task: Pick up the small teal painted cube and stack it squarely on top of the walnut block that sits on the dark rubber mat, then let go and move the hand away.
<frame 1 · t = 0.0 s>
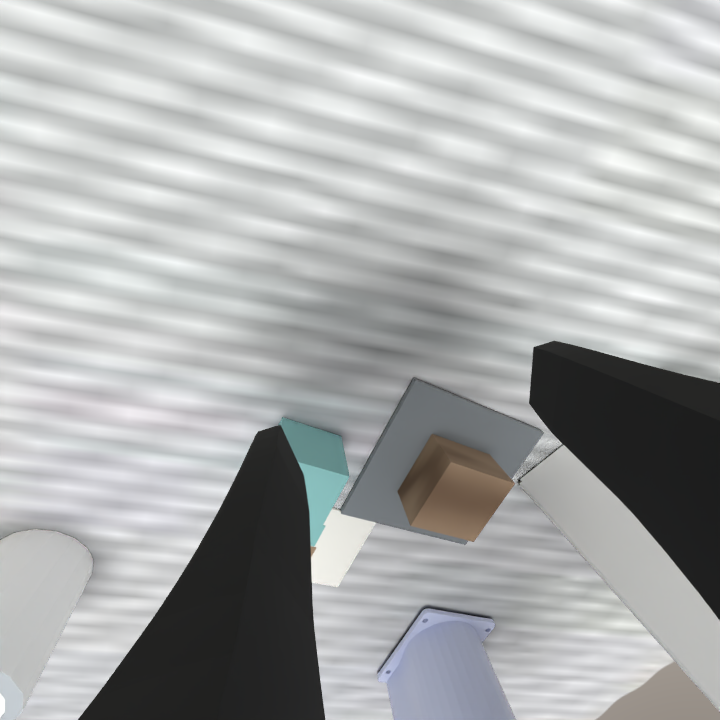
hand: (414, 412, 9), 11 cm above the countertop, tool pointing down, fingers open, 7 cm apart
gable box: (633, 497, 29), on the countertop
walnut block: (443, 472, 23), resting on build mat
white cylinder: (45, 560, 21), on the countertop
instruction card: (301, 541, 24), on the countertop
teal cube: (300, 451, 21), on the countertop
build mat: (441, 469, 24), on the countertop
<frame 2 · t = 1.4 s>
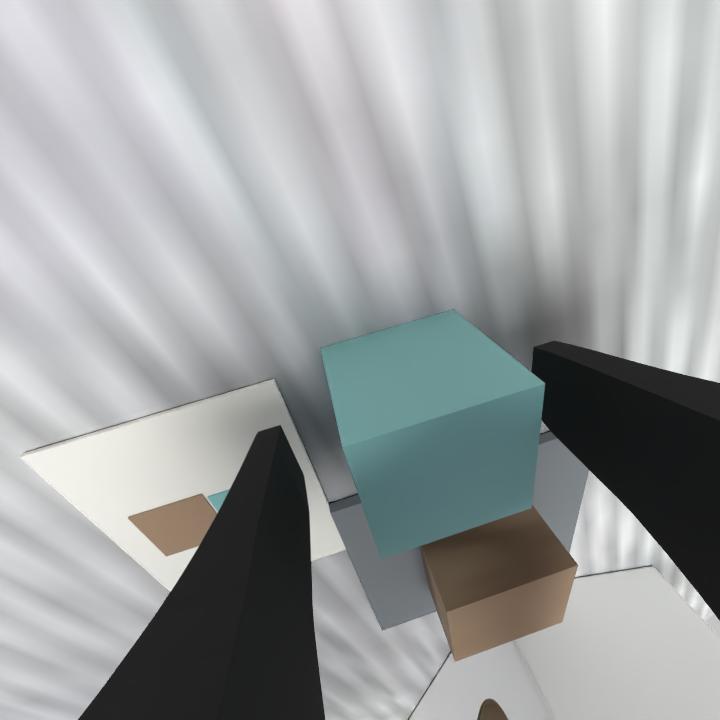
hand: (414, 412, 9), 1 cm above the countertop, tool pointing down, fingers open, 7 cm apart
gable box: (511, 650, 26), on the countertop
walnut block: (473, 544, 15), resting on build mat
instruction card: (221, 509, 12), on the countertop
teal cube: (397, 382, 11), on the countertop
build mat: (469, 536, 16), on the countertop
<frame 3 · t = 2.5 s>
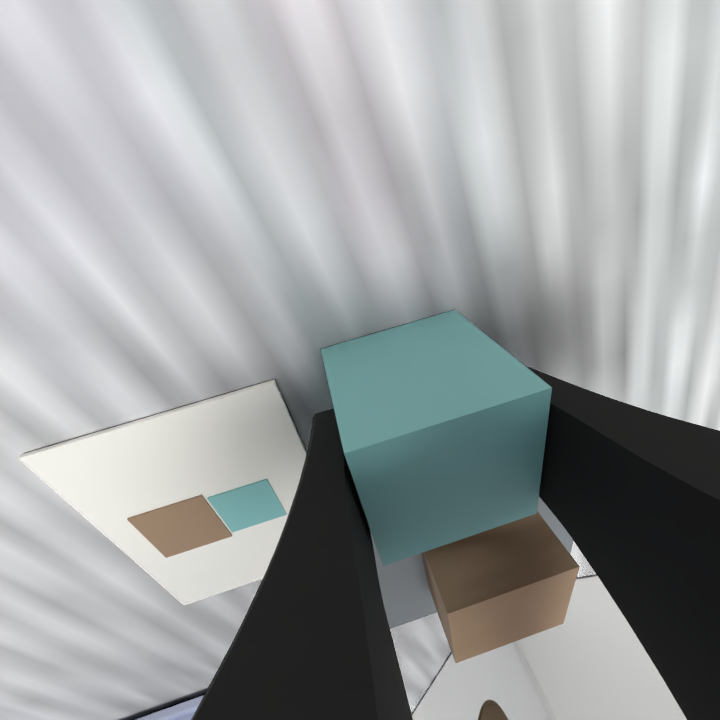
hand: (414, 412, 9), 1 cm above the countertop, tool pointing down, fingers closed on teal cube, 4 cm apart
gable box: (511, 651, 26), on the countertop
walnut block: (473, 545, 15), resting on build mat
instruction card: (221, 511, 11), on the countertop
teal cube: (399, 384, 10), on the countertop, touching gripper
build mat: (469, 537, 16), on the countertop
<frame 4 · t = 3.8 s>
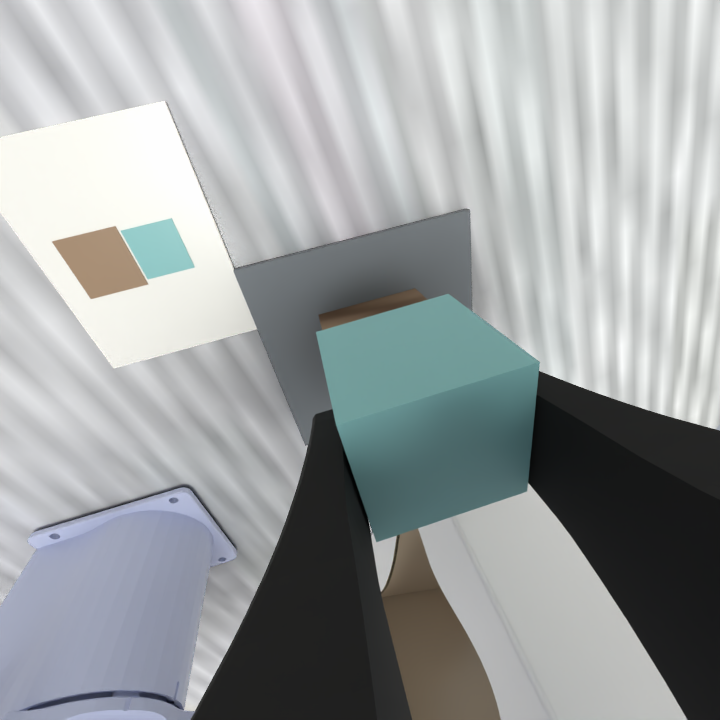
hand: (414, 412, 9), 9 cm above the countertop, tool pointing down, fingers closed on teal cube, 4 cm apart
gable box: (445, 519, 28), on the countertop
walnut block: (375, 344, 18), resting on build mat
instruction card: (136, 254, 14), on the countertop
teal cube: (393, 368, 11), point 7 cm above the countertop, touching gripper
build mat: (374, 341, 18), on the countertop
when the fingers open (6 cm above the countertop, at t = 5.3 s): teal cube stays where it is, resting on walnut block.
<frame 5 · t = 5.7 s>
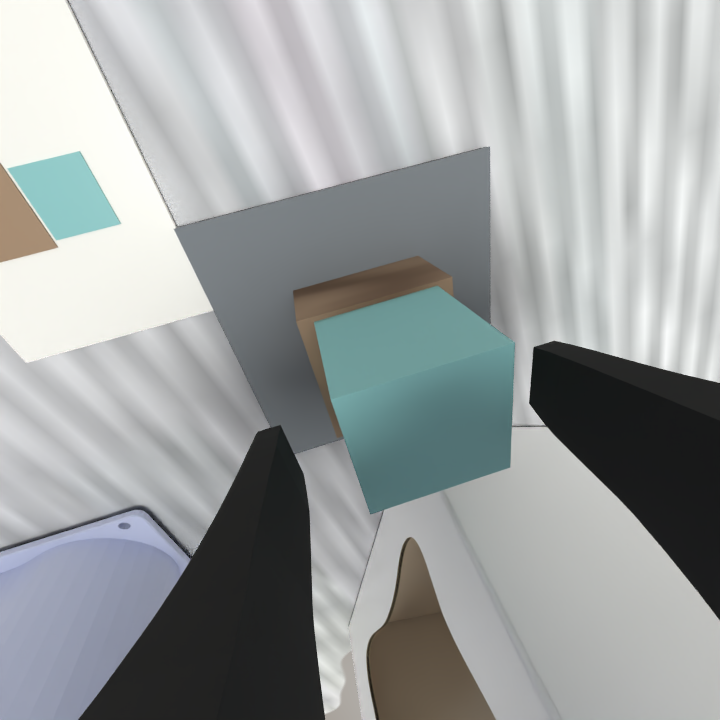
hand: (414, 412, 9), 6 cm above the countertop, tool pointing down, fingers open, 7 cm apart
gable box: (454, 536, 25), on the countertop
walnut block: (369, 329, 14), resting on build mat, touching teal cube
instruction card: (37, 205, 10), on the countertop
teal cube: (387, 357, 11), point 3 cm above the countertop, touching walnut block
build mat: (366, 326, 14), on the countertop
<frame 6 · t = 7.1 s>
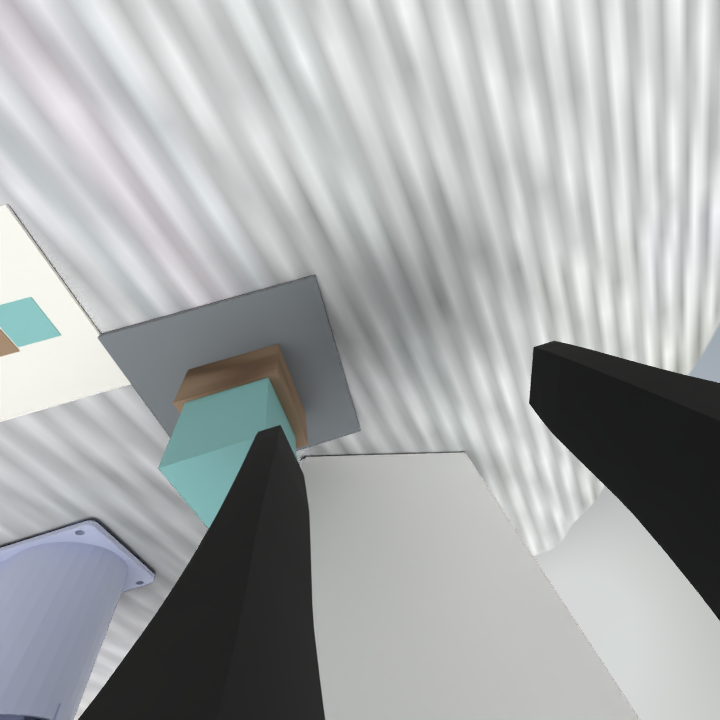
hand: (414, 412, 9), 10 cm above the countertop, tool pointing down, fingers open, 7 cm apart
gable box: (363, 539, 30), on the countertop
walnut block: (251, 392, 19), resting on build mat, touching teal cube
instruction card: (5, 327, 15), on the countertop
teal cube: (244, 420, 17), point 3 cm above the countertop, touching walnut block
build mat: (251, 388, 20), on the countertop
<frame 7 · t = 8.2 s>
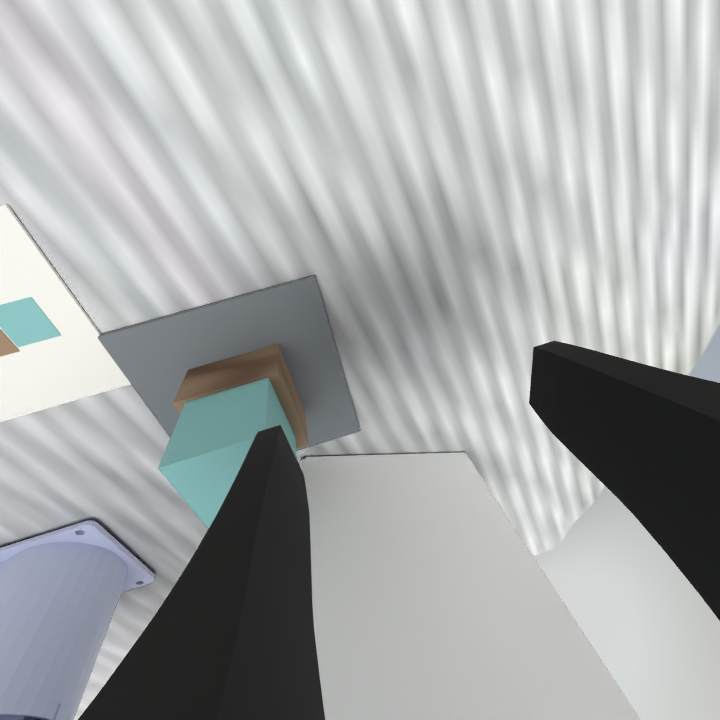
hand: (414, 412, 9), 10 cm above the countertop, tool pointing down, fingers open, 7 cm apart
gable box: (363, 539, 30), on the countertop
walnut block: (251, 392, 19), resting on build mat, touching teal cube
instruction card: (5, 327, 15), on the countertop
teal cube: (244, 420, 17), point 3 cm above the countertop, touching walnut block
build mat: (251, 388, 20), on the countertop
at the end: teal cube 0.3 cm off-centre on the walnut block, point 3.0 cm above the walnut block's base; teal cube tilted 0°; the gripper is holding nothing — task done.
